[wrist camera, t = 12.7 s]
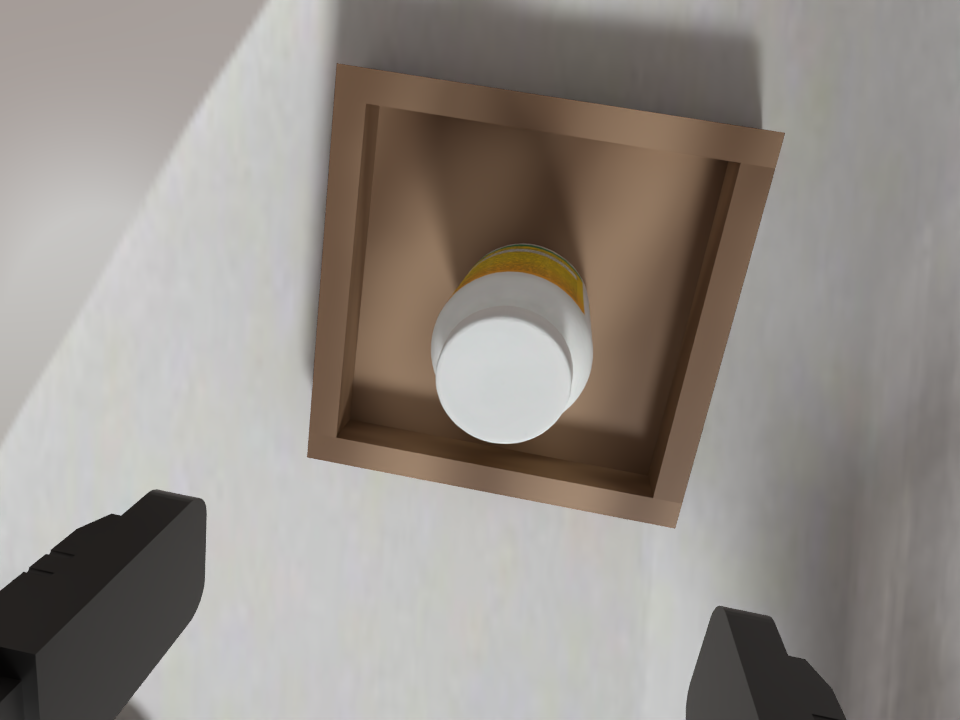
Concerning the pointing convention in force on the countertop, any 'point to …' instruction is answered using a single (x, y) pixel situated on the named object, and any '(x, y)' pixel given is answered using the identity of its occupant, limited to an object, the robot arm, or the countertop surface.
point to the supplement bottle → (513, 344)
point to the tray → (544, 222)
